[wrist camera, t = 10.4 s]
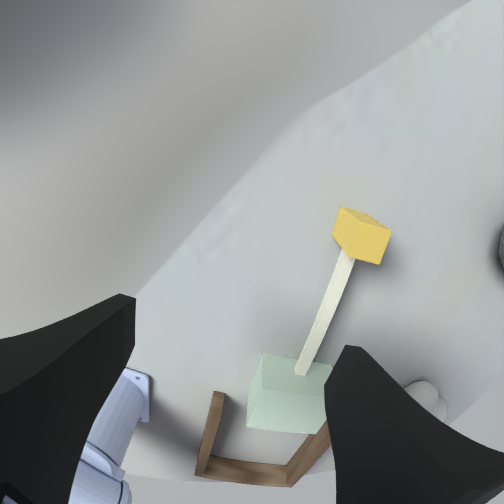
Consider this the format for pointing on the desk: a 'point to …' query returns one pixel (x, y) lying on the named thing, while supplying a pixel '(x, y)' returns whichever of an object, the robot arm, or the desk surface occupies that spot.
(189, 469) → the desk surface
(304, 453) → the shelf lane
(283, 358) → the tethered block
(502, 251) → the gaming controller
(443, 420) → the smooth white sculpture
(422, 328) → the desk surface
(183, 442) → the desk surface
